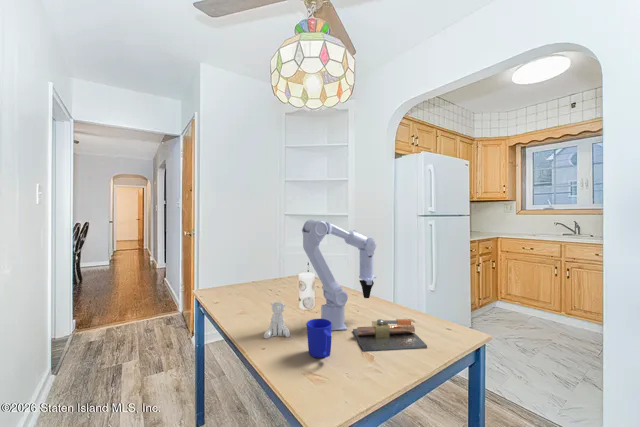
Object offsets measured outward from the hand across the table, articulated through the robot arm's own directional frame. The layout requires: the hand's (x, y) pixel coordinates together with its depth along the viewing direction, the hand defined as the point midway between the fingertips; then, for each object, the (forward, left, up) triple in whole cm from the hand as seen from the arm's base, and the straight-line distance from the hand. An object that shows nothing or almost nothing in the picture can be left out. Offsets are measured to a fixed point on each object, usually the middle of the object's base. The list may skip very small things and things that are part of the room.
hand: (366, 297), depth 122 cm
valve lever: (+6, -17, -5) cm, 19 cm away
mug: (-22, -29, -10) cm, 37 cm away
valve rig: (+3, -19, -9) cm, 21 cm away
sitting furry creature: (-37, -10, -10) cm, 40 cm away
